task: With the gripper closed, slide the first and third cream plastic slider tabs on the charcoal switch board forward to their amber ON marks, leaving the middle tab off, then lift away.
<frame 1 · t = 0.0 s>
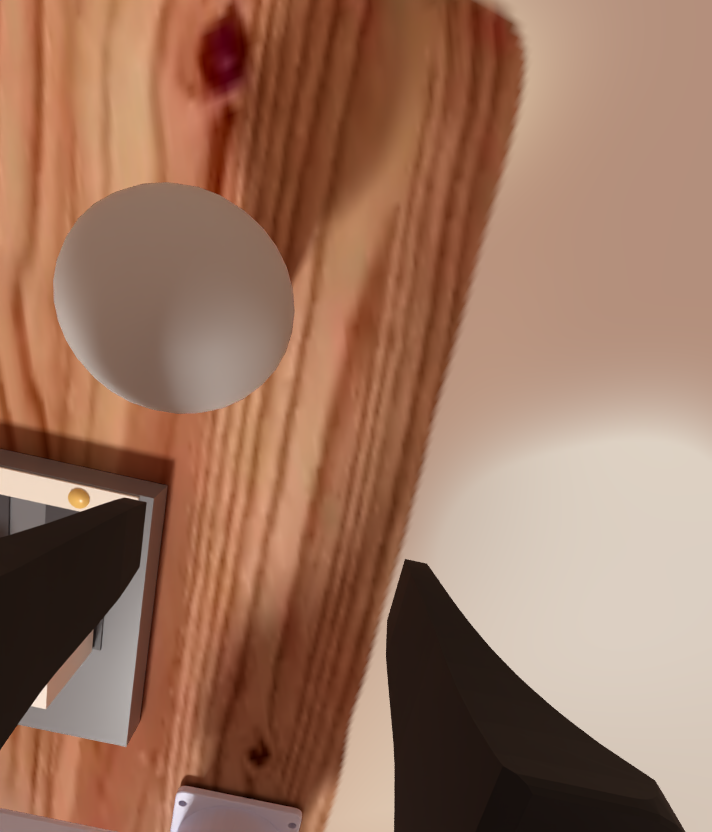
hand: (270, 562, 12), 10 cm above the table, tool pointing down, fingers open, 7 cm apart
switch bank: (1, 581, 25), on the table
lightbulb: (257, 302, 20), on the table
tab 1: (46, 648, 21), point 3 cm above the table, slide at 0.0 cm
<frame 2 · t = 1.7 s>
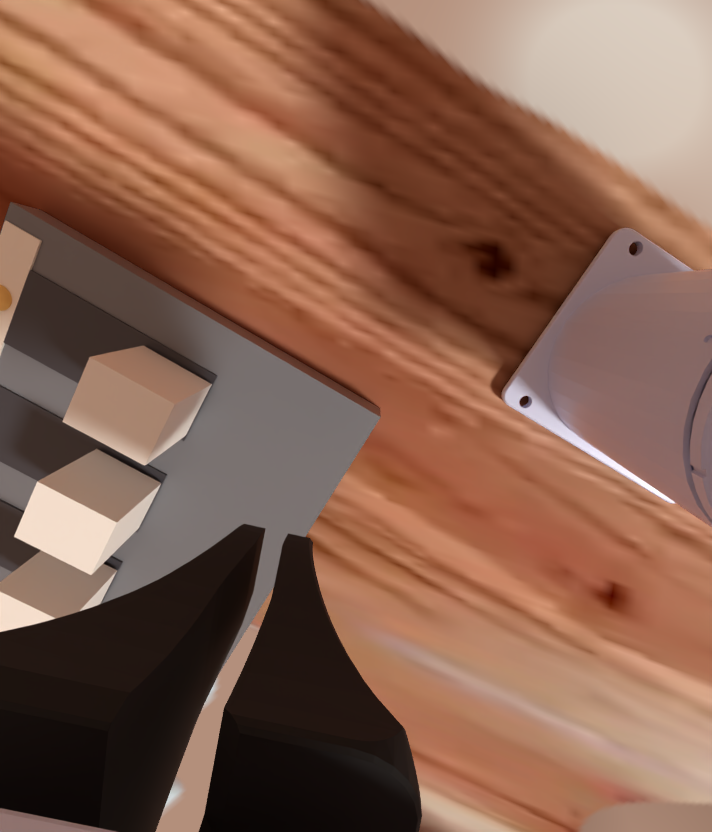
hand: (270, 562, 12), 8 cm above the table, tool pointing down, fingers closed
tab 3: (50, 600, 19), point 3 cm above the table, slide at 0.0 cm
switch bank: (138, 473, 21), on the table
tab 2: (94, 507, 17), point 3 cm above the table, slide at 0.0 cm
tab 1: (144, 401, 16), point 3 cm above the table, slide at 0.0 cm
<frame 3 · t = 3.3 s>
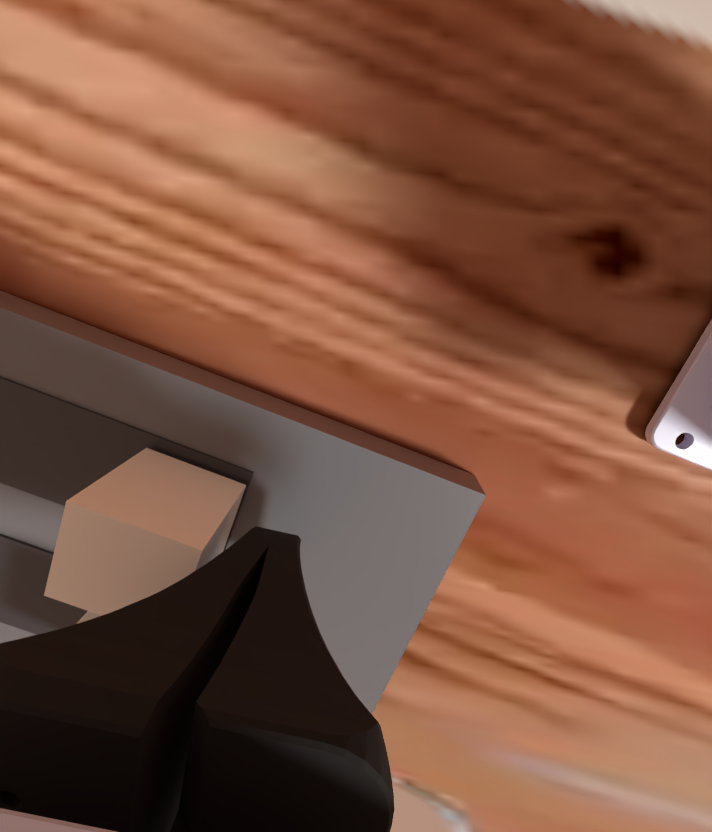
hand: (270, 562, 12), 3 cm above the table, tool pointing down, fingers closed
switch bank: (168, 598, 16), on the table
tab 2: (114, 678, 13), point 3 cm above the table, slide at 0.0 cm
tab 1: (157, 533, 11), point 3 cm above the table, slide at 0.0 cm, touching gripper
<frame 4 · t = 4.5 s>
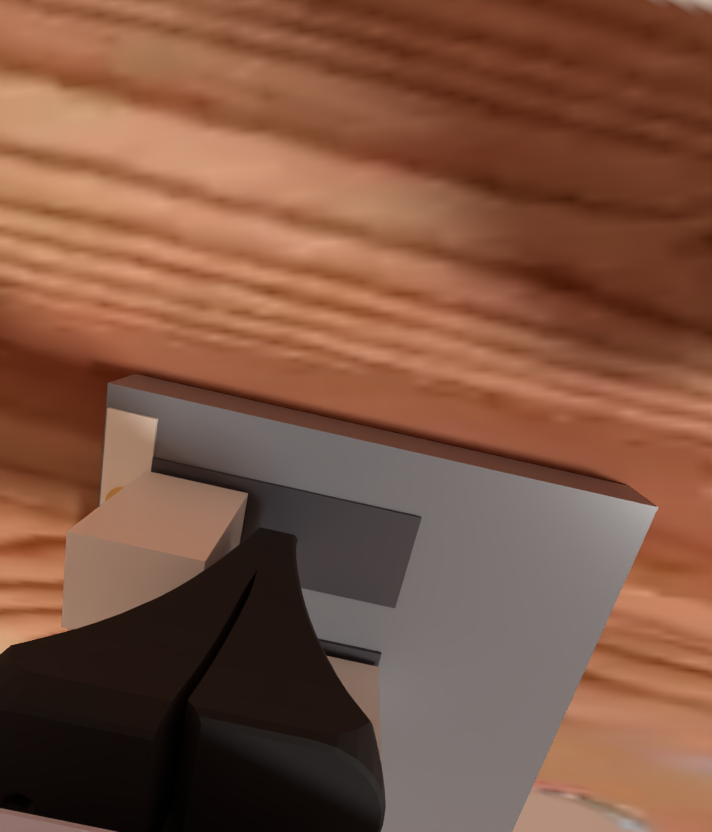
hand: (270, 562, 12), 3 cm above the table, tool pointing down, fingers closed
switch bank: (330, 646, 16), on the table
tab 2: (319, 737, 13), point 3 cm above the table, slide at 0.0 cm
tab 1: (165, 552, 11), point 3 cm above the table, slide at 5.1 cm, touching gripper
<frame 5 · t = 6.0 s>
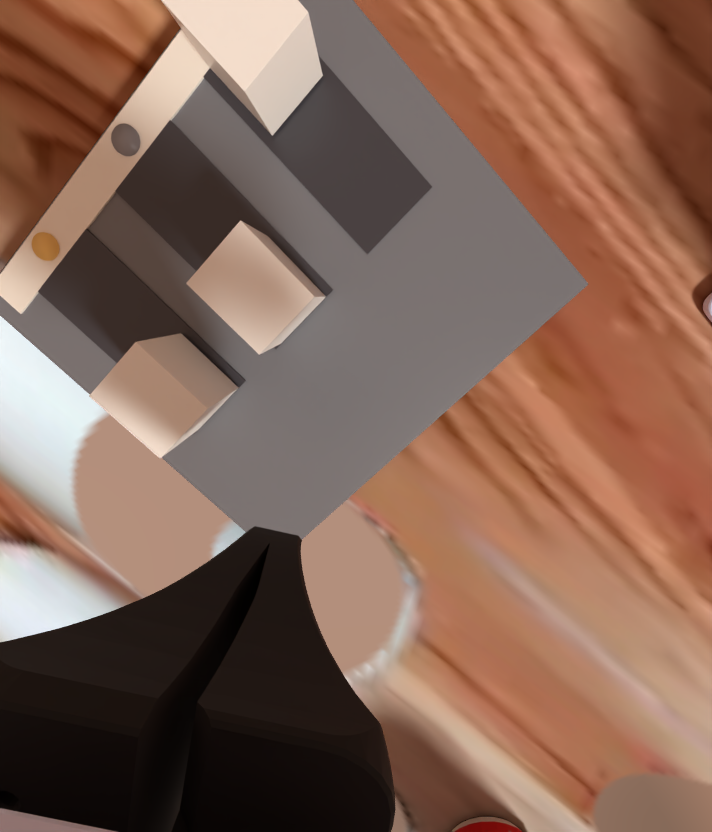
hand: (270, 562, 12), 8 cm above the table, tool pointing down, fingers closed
tab 3: (171, 391, 16), point 3 cm above the table, slide at 0.0 cm
switch bank: (283, 291, 18), on the table
tab 2: (263, 290, 15), point 3 cm above the table, slide at 0.0 cm
tab 1: (251, 41, 13), point 3 cm above the table, slide at 5.1 cm
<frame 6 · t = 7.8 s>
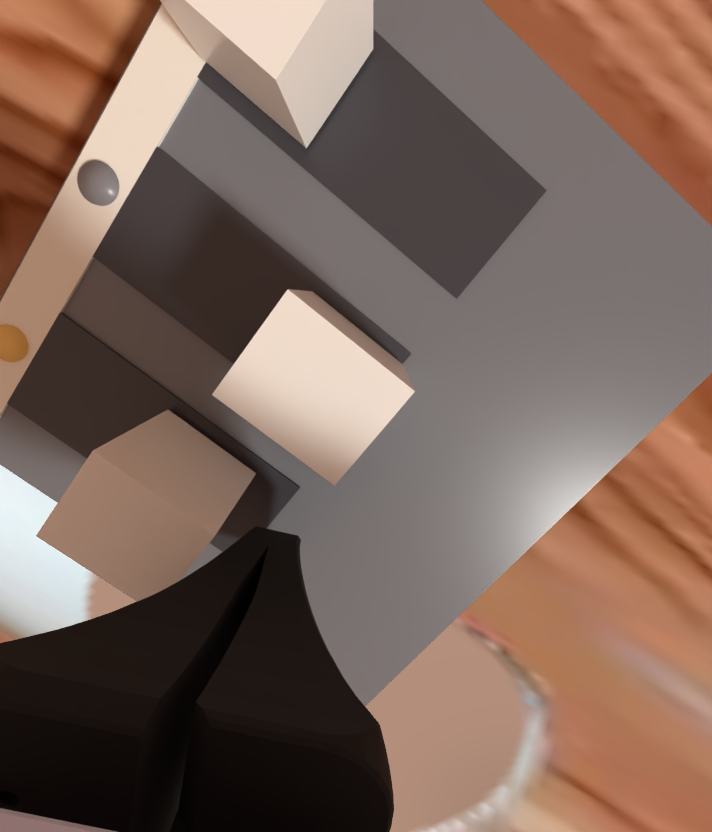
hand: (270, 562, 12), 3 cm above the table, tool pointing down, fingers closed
tab 3: (161, 500, 11), point 3 cm above the table, slide at 1.3 cm, touching gripper
switch bank: (334, 357, 13), on the table
tab 2: (322, 377, 10), point 3 cm above the table, slide at 0.0 cm
tab 1: (269, 4, 8), point 3 cm above the table, slide at 5.1 cm
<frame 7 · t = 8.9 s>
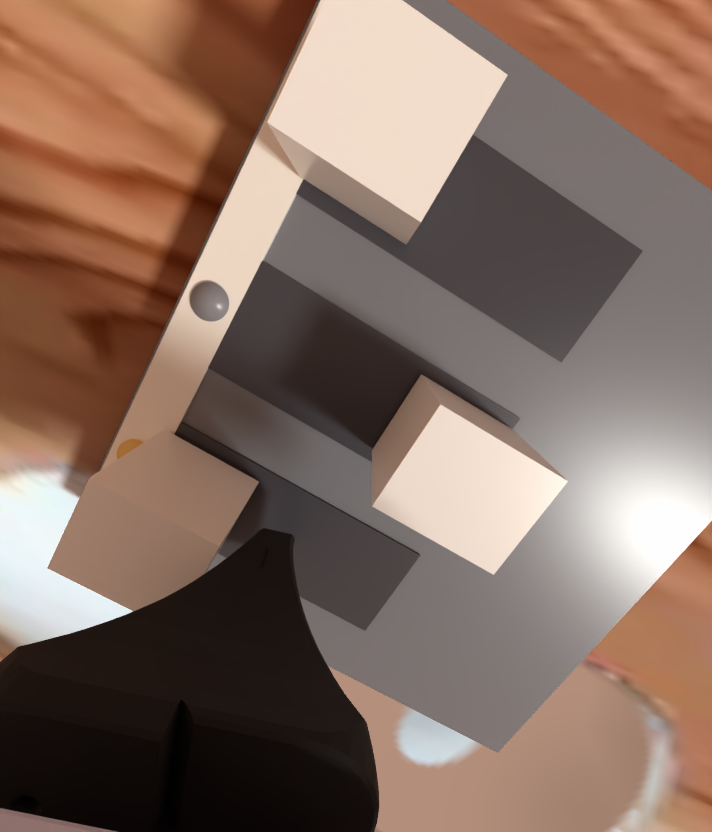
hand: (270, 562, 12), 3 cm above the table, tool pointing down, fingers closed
tab 3: (167, 519, 11), point 3 cm above the table, slide at 5.3 cm, touching gripper
switch bank: (433, 423, 14), on the table
tab 2: (453, 463, 10), point 3 cm above the table, slide at 0.0 cm
tab 1: (382, 136, 9), point 3 cm above the table, slide at 5.1 cm
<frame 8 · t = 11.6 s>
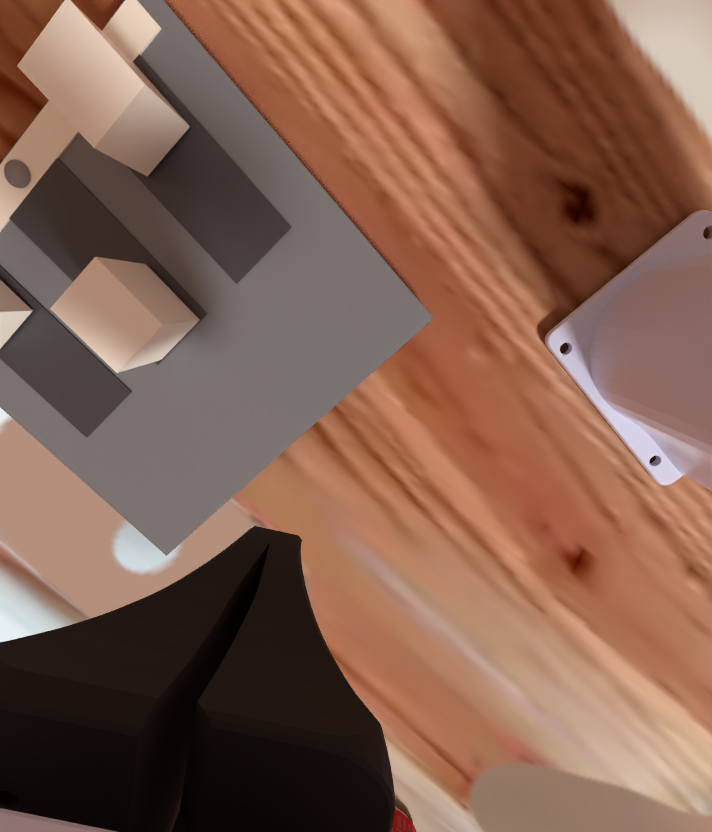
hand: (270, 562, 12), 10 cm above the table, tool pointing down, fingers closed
soda can: (373, 823, 28), on the table
switch bank: (172, 311, 20), on the table
tab 2: (132, 314, 17), point 3 cm above the table, slide at 0.0 cm
tab 1: (113, 99, 15), point 3 cm above the table, slide at 5.1 cm
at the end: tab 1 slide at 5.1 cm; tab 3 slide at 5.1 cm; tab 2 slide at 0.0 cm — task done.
